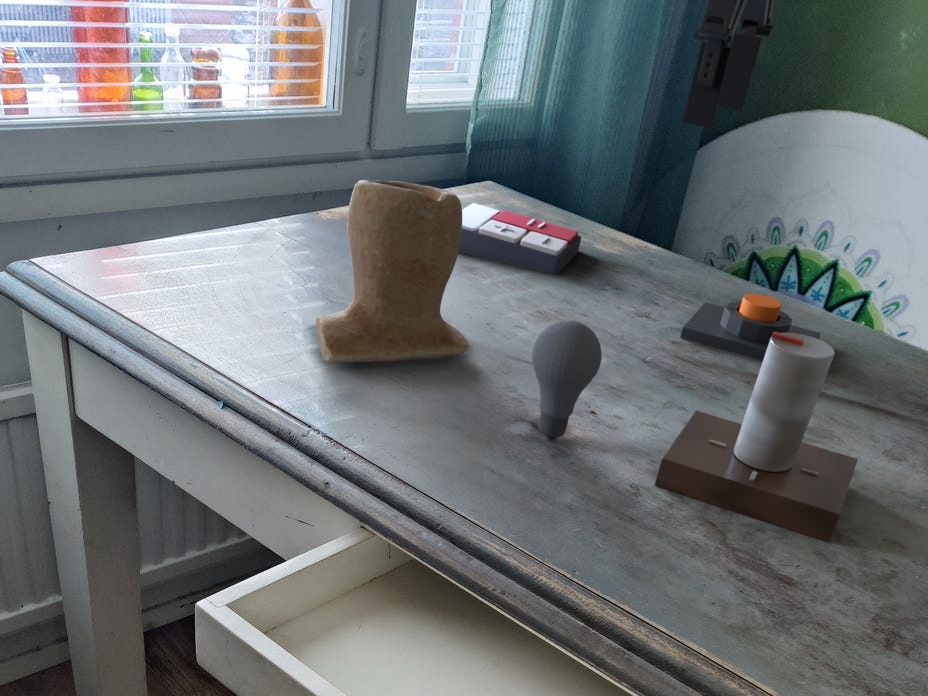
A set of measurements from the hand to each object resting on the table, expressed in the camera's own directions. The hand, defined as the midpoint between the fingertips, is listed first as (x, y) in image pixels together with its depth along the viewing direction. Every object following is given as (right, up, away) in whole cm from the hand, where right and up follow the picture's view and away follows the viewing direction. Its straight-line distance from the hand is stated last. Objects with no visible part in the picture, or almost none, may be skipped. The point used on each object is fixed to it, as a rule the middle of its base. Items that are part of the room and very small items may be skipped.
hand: (713, 116), depth 98 cm
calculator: (-19, -5, +24) cm, 31 cm away
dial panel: (-1, -39, -16) cm, 42 cm away
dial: (-1, -37, -18) cm, 41 cm away
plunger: (+6, -18, +6) cm, 20 cm away
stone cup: (-33, -24, -3) cm, 41 cm away
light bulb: (-18, -35, -14) cm, 41 cm away
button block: (+6, -21, +9) cm, 23 cm away
